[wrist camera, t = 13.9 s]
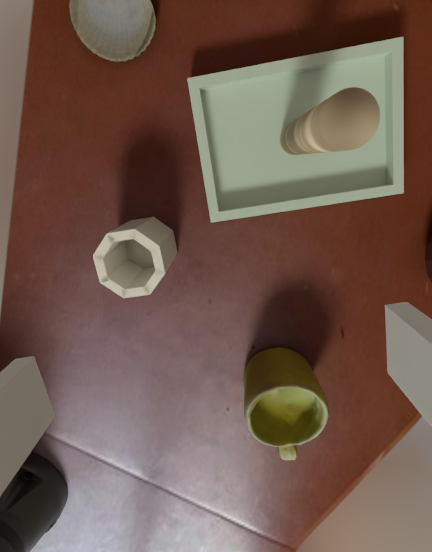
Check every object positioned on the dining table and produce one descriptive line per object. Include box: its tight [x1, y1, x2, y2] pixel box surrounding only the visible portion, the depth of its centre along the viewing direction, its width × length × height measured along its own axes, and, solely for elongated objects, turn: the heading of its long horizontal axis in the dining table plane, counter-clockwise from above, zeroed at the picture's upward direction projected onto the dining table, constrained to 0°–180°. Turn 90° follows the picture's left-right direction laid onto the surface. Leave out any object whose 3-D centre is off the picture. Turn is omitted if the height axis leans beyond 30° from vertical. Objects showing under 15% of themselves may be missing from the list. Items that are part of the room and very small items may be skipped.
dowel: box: [280, 87, 380, 155], centre depth 28 cm, size 3×3×18 cm
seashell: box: [69, 0, 156, 62], centre depth 34 cm, size 8×3×8 cm
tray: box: [187, 37, 404, 223], centre depth 36 cm, size 20×14×2 cm
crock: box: [93, 217, 178, 298], centre depth 38 cm, size 7×7×8 cm
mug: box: [244, 347, 329, 460], centre depth 43 cm, size 12×10×10 cm
